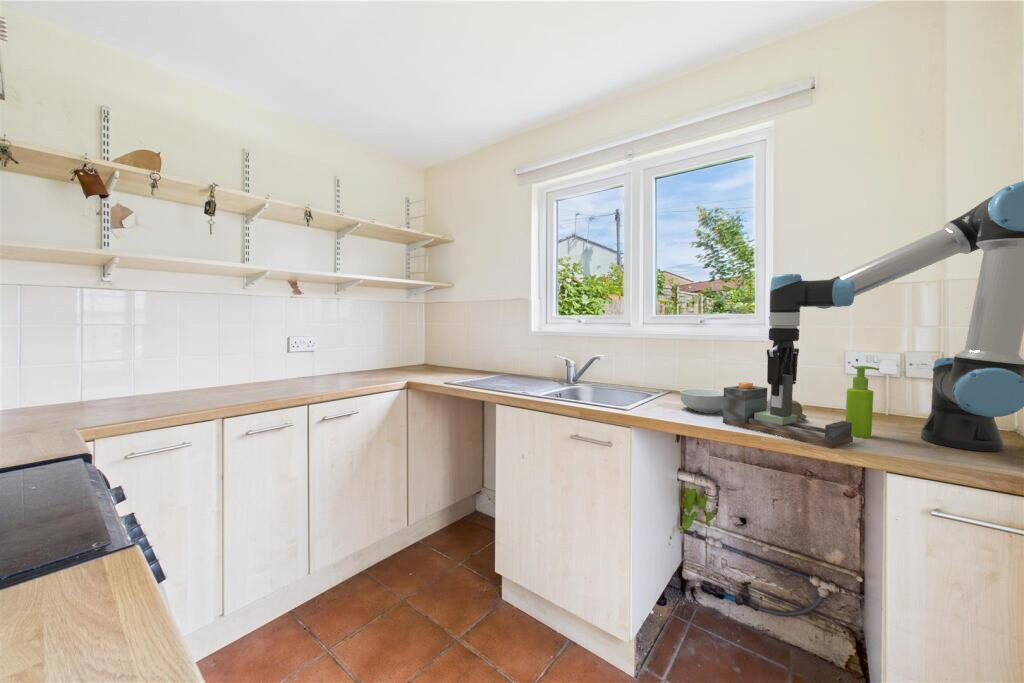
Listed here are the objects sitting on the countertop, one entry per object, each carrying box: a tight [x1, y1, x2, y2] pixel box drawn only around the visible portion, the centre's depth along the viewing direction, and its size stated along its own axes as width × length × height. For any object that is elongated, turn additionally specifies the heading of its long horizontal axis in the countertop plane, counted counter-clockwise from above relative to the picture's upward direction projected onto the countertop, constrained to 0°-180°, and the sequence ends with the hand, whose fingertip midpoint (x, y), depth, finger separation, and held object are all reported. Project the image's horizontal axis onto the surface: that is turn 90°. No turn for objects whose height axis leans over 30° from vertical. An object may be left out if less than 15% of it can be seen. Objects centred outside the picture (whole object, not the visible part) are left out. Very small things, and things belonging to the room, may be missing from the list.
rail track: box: [722, 385, 854, 449], centre depth 124 cm, size 30×12×12 cm, turn 30°
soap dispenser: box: [845, 365, 880, 439], centre depth 120 cm, size 6×7×20 cm
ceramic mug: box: [767, 397, 807, 421], centre depth 140 cm, size 11×8×8 cm
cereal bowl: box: [679, 388, 724, 414], centre depth 153 cm, size 17×17×7 cm
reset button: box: [738, 381, 754, 390], centre depth 134 cm, size 4×4×3 cm
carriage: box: [754, 374, 798, 425], centre depth 126 cm, size 8×8×14 cm
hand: (781, 405), depth 124 cm, fingers closed on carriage, 4 cm apart
